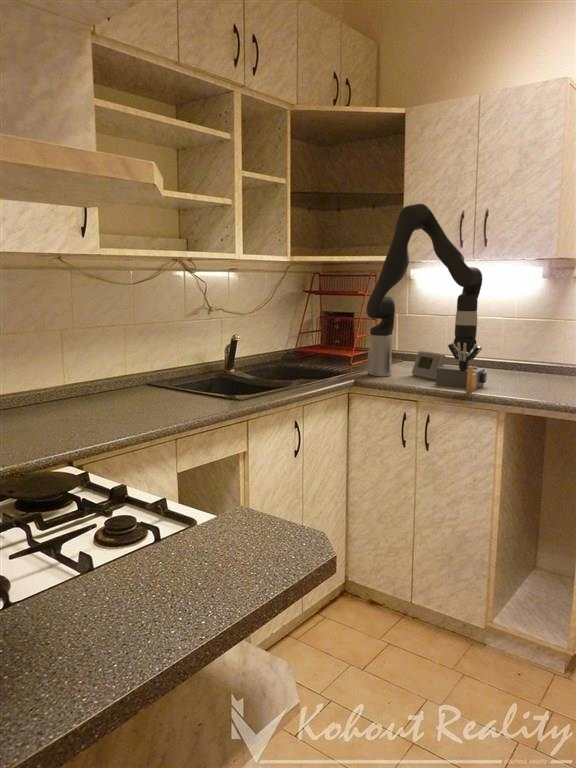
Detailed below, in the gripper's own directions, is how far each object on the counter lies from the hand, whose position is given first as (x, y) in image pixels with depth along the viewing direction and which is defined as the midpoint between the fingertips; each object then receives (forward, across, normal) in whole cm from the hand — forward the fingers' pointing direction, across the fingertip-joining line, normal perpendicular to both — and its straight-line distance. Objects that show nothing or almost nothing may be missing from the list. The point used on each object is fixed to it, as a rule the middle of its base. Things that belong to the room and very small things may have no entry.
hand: (463, 371), depth 220 cm
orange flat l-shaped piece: (+8, +2, +4) cm, 9 cm away
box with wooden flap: (+8, -8, +11) cm, 16 cm away
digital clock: (+8, -27, +17) cm, 32 cm away
